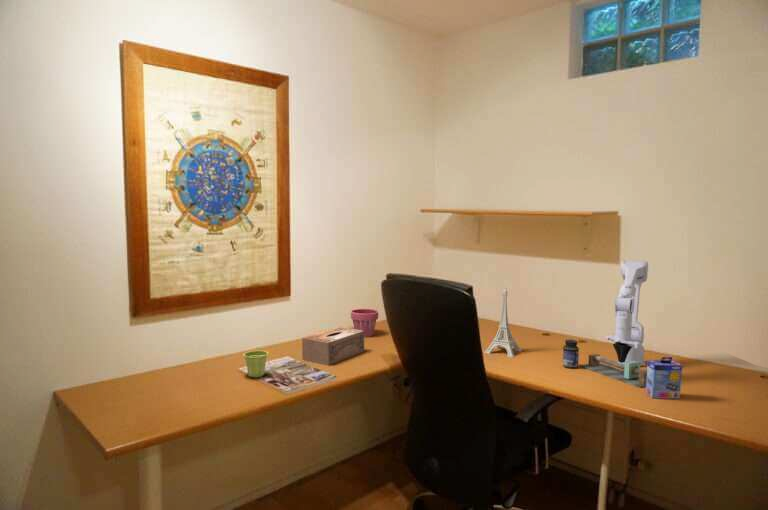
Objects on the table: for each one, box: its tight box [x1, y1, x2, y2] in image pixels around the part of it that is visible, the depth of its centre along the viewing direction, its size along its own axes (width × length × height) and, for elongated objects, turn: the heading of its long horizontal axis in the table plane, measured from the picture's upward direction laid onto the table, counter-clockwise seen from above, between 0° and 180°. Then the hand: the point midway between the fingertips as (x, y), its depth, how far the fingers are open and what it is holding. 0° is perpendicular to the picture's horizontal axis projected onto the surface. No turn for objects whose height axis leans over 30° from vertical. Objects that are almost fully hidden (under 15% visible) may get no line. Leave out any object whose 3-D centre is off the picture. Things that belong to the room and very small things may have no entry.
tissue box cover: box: [301, 326, 365, 366], centre depth 227 cm, size 26×14×10 cm, turn 147°
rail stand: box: [580, 353, 647, 389], centre depth 202 cm, size 28×10×5 cm, turn 25°
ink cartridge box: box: [645, 356, 683, 400], centre depth 179 cm, size 10×6×14 cm, turn 90°
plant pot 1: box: [243, 350, 269, 378], centre depth 200 cm, size 9×9×9 cm
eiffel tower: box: [484, 287, 523, 358], centre depth 234 cm, size 13×13×30 cm
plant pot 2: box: [350, 308, 379, 338], centre depth 265 cm, size 14×14×13 cm
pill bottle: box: [562, 339, 580, 370], centre depth 212 cm, size 6×6×11 cm
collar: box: [623, 360, 641, 379], centre depth 196 cm, size 2×6×6 cm, turn 115°
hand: (621, 362), depth 200 cm, fingers closed
